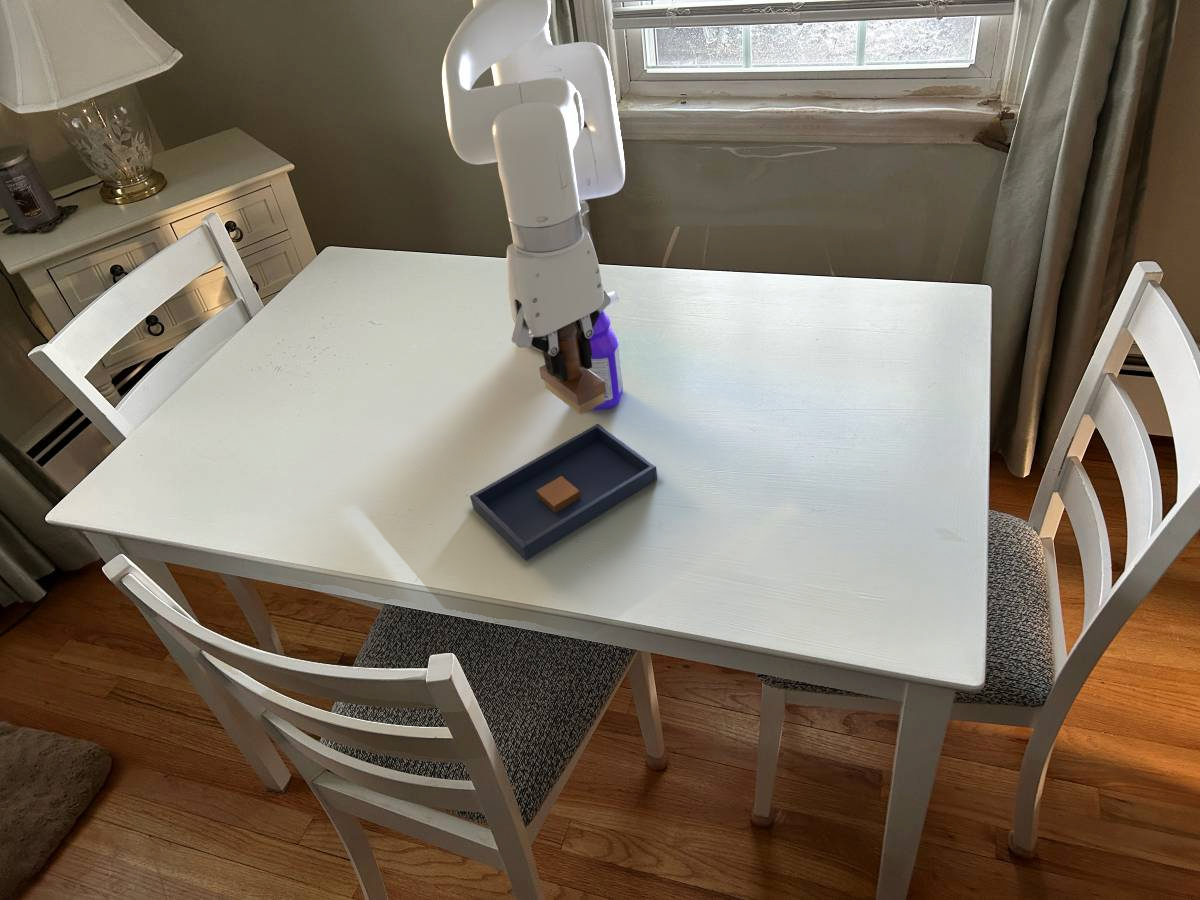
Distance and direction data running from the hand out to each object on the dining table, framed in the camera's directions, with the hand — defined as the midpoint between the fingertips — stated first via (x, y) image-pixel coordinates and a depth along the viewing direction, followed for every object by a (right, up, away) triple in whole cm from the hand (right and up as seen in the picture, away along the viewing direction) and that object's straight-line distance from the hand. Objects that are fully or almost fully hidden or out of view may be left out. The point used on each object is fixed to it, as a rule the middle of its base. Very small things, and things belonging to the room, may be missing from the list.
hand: (570, 369), depth 107 cm
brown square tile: (-2, -16, +7) cm, 17 cm away
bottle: (+3, -3, +23) cm, 23 cm away
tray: (-1, -15, +8) cm, 17 cm away
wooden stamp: (0, -3, +2) cm, 4 cm away
